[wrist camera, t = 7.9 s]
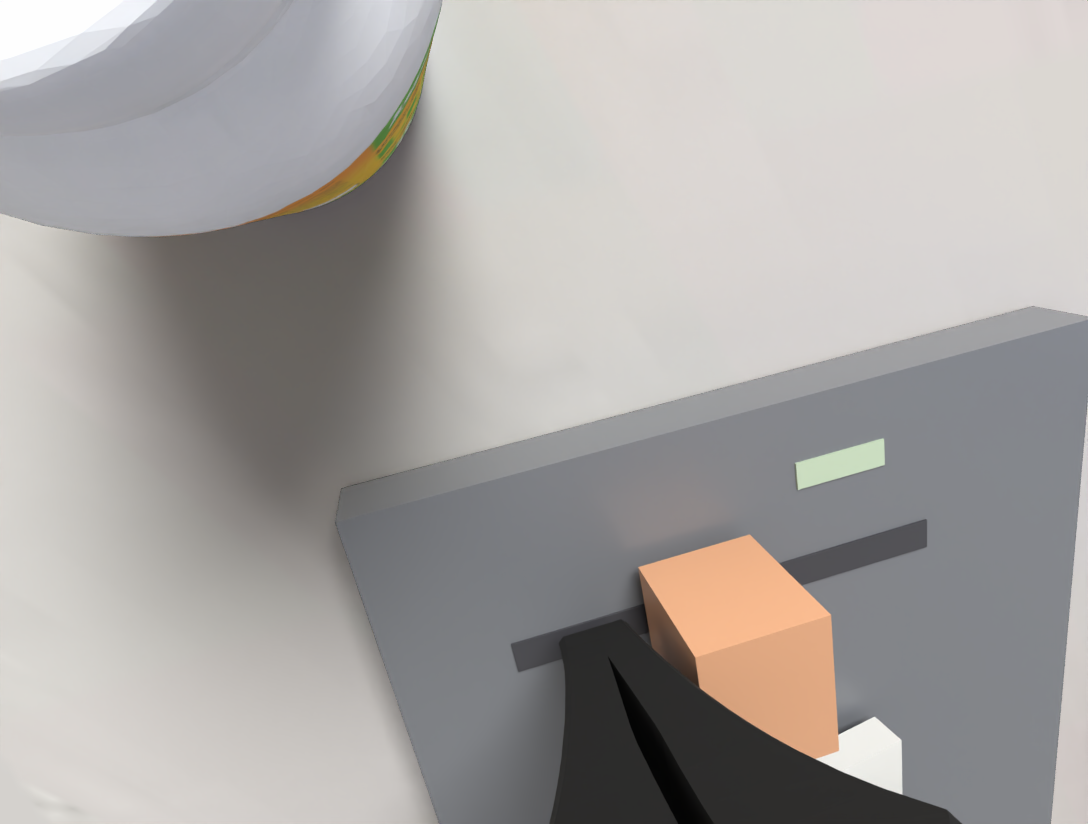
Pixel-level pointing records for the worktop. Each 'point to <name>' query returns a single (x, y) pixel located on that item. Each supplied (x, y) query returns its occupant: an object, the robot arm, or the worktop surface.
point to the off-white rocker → (869, 755)
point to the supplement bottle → (200, 107)
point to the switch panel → (785, 533)
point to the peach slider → (747, 639)
